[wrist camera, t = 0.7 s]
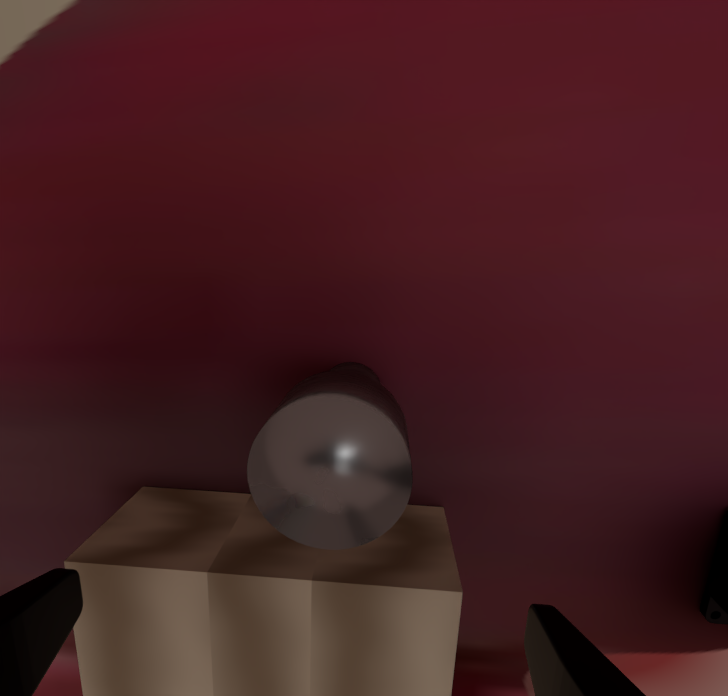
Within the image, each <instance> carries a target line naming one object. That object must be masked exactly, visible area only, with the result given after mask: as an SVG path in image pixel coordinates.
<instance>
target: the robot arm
mask: <svg viewBox="0 0 728 696" xmlns="http://www.w3.org/2000/svg"><path fill="white" fill-rule="evenodd" d="M82 608H83V596H82V589H81V582H80V575H79V573H78V572H77V570H74V569H64V568H56V569H53V570H51V571H49V572H47V573H45V574H43V575H41V576H39V577H37V578H35V579H33V580H31V581H29V582H27V583H25V584H23V585H21V586H19V587H17V588H15V589H13V590H11V591H10V592H8V593H6V594H4V595H2V596H0V696H32V695H33V693H34V692H35V690H36V689H37V687H38V685H39V684H40V682H41V680H42V679H43V677H44V675H45V674H46V672H47V670H48V669H49V667H50V665H51V663H52V662H53V660H54V658H55V657H56V655H57V653H58V652H59V650H60V648H61V647H62V645H63V643H64V642H65V640H66V638H67V637H68V635H69V633H70V632H71V630H72V628H73V627H74V625H75V623H76V622H77V620H78V618H79V616H80V614H81V612H82ZM700 612H701V614H702V615H703V616H704V617H705V619H706V620H707V621H709V622H711V623H717V624H728V511H727V512H726V514H725V516H724V520H723V524H722V527H721V531H720V535H719V538H718V542H717V546H716V550H715V553H714V557H713V561H712V565H711V568H710V572H709V576H708V579H707V583H706V587H705V591H704V594H703V598H702V602H701V605H700ZM524 644H525V652H526V657H527V661H528V666H529V670H530V674H531V679H532V683H533V687H534V692H535V696H646V695H645V694H643V693H642V692H641V691H640V690H639V689H638V688H637V687H636V686H635V685H634V684H633V683H632V682H631V681H630V680H629V679H628V678H627V677H626V676H625V675H624V674H623V673H622V672H621V671H620V670H619V669H618V668H617V667H616V666H615V665H614V664H613V663H612V662H610V660H609V659H607V657H606V656H604V655H603V654H602V653H601V652H600V651H599V650H598V649H597V648H596V647H595V646H594V645H593V644H592V643H591V642H590V641H589V640H588V639H587V638H586V637H585V636H584V635H583V634H582V633H581V632H580V631H579V630H578V629H577V628H576V627H575V626H574V625H573V624H572V623H571V622H570V621H569V620H568V619H566V618H565V617H564V616H563V615H562V614H561V613H560V612H559V611H558V610H557V609H556V608H555V607H553V606H551V605H543V604H532V605H531V606H530V607H529V611H528V617H527V624H526V631H525V639H524Z"/></svg>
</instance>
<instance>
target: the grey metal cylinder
mask: <svg viewBox="0 0 728 696" xmlns="http://www.w3.org/2000/svg"><path fill="white" fill-rule="evenodd" d="M247 476H248V484H249V488H250V492H251V495H252V497H253V500H254V502H255V504H256V506H257V507H258V509H259V511H260V512H261V514H262V515H263V516H264V518H265V519H266V520H267V521H268V522H269V523H270V524H271V525H272V526H273V527H274V528H275V529H277V530H278V531H279V532H280V533H282V534H283V535H285V536H286V537H288V538H290V539H292V540H294V541H296V542H298V543H301V544H303V545H306V546H310V547H314V548H319V549H326V550H340V549H349V548H354V547H358V546H361V545H364V544H367V543H369V542H371V541H373V540H375V539H377V538H378V537H380V536H381V535H383V534H384V533H386V532H387V531H388V530H389V529H390V528H391V527H392V526H393V525H394V524H395V523H396V522H397V521H398V519H399V518H400V516H401V515H402V513H403V512H404V510H405V508H406V506H407V503H408V501H409V497H410V494H411V488H412V467H411V458H410V450H409V441H408V433H407V425H406V421H405V417H404V414H403V412H402V410H401V407H400V406H399V404H398V402H397V401H396V399H395V398H394V397H393V396H392V394H391V393H390V392H389V391H388V390H387V389H386V388H385V387H383V386H382V385H381V383H380V381H379V378H378V377H377V375H376V374H375V373H374V372H373V371H372V370H371V369H370V368H368V367H367V366H365V365H363V364H360V363H355V362H347V363H342V364H339V365H337V366H335V367H333V368H332V369H331V370H330V371H327V372H322V373H318V374H315V375H313V376H310V377H308V378H306V379H304V380H303V381H301V382H299V383H298V384H297V385H296V386H294V387H293V388H292V389H291V390H290V391H289V392H288V393H287V395H286V396H285V397H284V399H283V400H282V401H281V403H280V404H279V406H278V407H277V408H276V410H275V411H274V412H273V414H272V415H271V417H270V418H269V419H268V421H267V422H266V424H265V425H264V426H263V428H262V429H261V430H260V432H259V433H258V435H257V436H256V438H255V440H254V442H253V444H252V447H251V450H250V453H249V458H248V464H247Z"/></svg>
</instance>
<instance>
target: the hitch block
mask: <svg viewBox="0 0 728 696" xmlns="http://www.w3.org/2000/svg"><path fill="white" fill-rule="evenodd" d="M64 564H65V569H74V570H77V572H78V573H79V575H80V582H81V589H82V596H83V608H82V612H81V614H80V616H79V618H78V620H77V622H76V623H75V625H74V627H73V628H74V635H75V642H76V649H77V656H78V663H79V670H80V677H81V684H82V691H83V696H451V692H452V683H453V674H454V665H455V656H456V647H457V639H458V630H459V621H460V612H461V603H462V594H463V591H462V587H461V583H460V578H459V574H458V569H457V565H456V560H455V556H454V552H453V547H452V543H451V538H450V534H449V529H448V525H447V521H446V516H445V512H444V507H433V506H419V505H407V506H406V508H405V510H404V512H403V513H402V515H401V516H400V518H399V519H398V521H397V522H396V523H395V524H394V525H393V526H392V527H391V528H390V529H389V530H388V531H387V532H386V533H384V534H383V535H381V536H380V537H378V538H377V539H375V540H373V541H371V542H369V543H367V544H364V545H361V546H358V547H354V548H349V549H340V550H326V549H319V548H314V547H310V546H306V545H303V544H301V543H298V542H296V541H294V540H292V539H290V538H288V537H286V536H285V535H283V534H282V533H280V532H279V531H278V530H277V529H275V528H274V527H273V526H272V525H271V524H270V523H269V522H268V521H267V520H266V519H265V518H264V516H263V515H262V514H261V512H260V511H259V509H258V507H257V506H256V504H255V502H254V500H253V497H252V495H251V494H244V493H230V492H215V491H201V490H186V489H172V488H157V487H142V488H141V489H140V490H139V491H138V492H137V493H136V494H135V495H134V496H133V497H132V498H131V499H129V500H128V501H127V502H126V503H125V504H124V505H123V506H122V507H121V508H120V509H119V510H118V511H117V512H116V513H115V514H114V515H113V516H111V517H110V518H109V519H108V520H107V521H106V522H105V523H104V524H103V525H102V526H101V527H100V528H99V529H98V530H97V531H96V532H95V533H94V534H92V535H91V536H90V537H89V538H88V539H87V540H86V541H85V542H84V543H83V544H82V545H81V546H80V547H79V548H78V549H77V550H76V551H74V552H73V553H72V554H71V555H70V556H69V557H68V558H67V559H66V560H65V561H64Z"/></svg>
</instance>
